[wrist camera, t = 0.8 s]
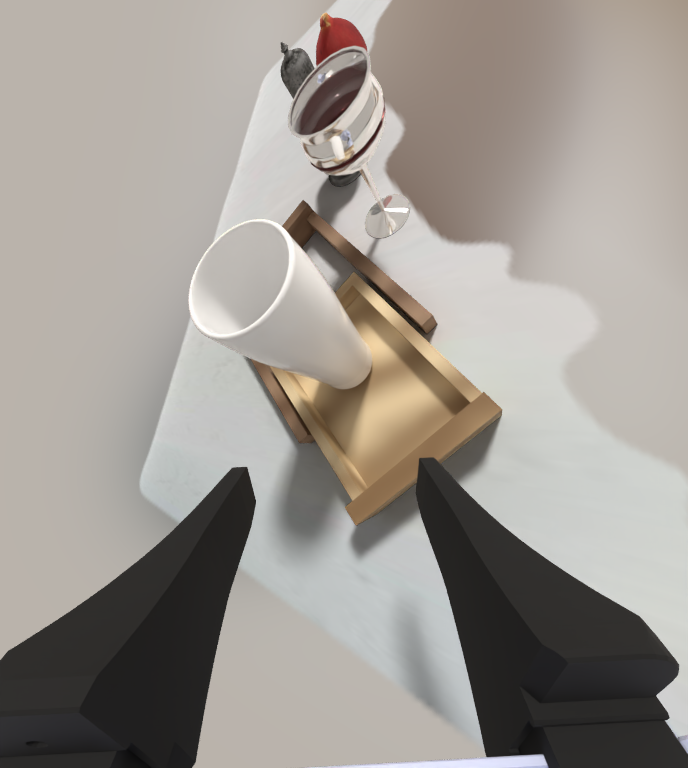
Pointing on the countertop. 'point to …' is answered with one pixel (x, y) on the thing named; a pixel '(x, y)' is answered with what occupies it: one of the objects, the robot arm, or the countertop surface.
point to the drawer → (388, 407)
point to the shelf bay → (305, 226)
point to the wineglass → (346, 128)
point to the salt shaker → (293, 77)
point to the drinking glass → (276, 306)
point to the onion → (336, 37)
